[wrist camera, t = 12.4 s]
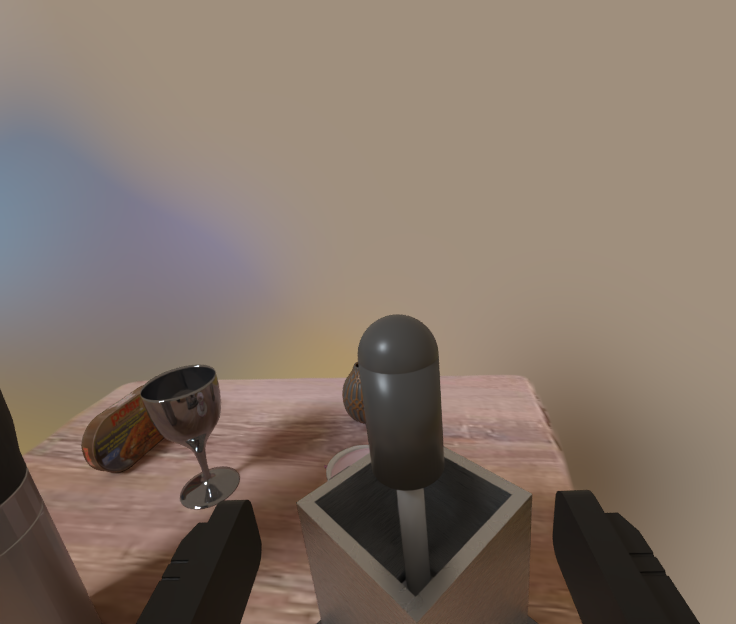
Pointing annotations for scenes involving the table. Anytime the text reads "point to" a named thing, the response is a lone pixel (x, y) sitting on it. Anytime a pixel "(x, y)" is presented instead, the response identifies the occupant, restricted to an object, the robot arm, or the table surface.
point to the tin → (119, 435)
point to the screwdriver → (404, 426)
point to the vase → (354, 395)
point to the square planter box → (445, 546)
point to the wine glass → (191, 427)
